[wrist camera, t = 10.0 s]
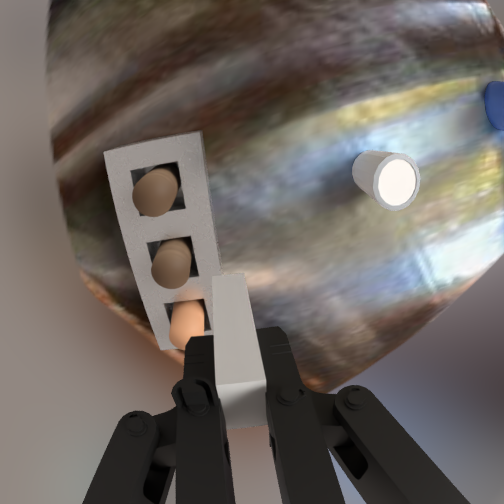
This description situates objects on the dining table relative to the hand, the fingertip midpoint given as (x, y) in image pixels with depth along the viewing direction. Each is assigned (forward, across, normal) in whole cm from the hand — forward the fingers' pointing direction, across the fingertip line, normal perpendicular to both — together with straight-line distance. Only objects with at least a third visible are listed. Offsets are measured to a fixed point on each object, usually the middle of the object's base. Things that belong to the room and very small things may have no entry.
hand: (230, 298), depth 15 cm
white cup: (+24, +20, +1) cm, 31 cm away
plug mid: (+22, -6, -6) cm, 23 cm away
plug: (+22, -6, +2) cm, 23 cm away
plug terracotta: (+21, -6, -14) cm, 26 cm away
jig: (+23, -6, -6) cm, 25 cm away
